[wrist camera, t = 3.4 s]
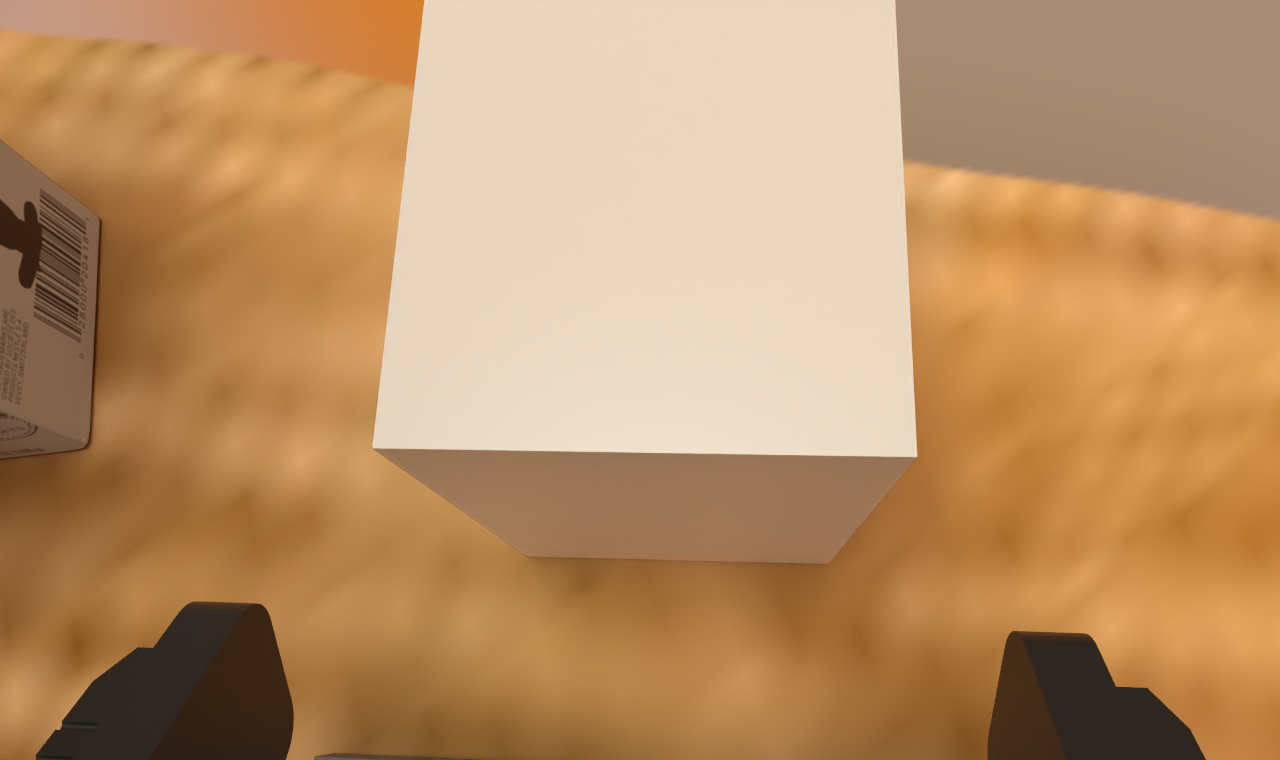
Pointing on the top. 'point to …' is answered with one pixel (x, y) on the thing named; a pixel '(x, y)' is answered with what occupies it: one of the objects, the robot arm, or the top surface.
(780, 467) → the white rectangular block
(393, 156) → the top surface
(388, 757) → the mat
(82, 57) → the top surface
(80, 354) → the coffee box
